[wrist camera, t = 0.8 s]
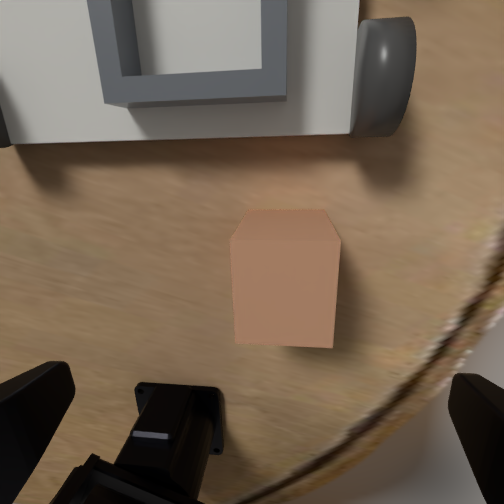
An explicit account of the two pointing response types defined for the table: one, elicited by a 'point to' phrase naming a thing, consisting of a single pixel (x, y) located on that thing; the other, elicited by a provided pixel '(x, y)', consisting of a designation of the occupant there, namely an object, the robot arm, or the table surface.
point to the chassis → (199, 70)
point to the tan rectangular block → (285, 278)
